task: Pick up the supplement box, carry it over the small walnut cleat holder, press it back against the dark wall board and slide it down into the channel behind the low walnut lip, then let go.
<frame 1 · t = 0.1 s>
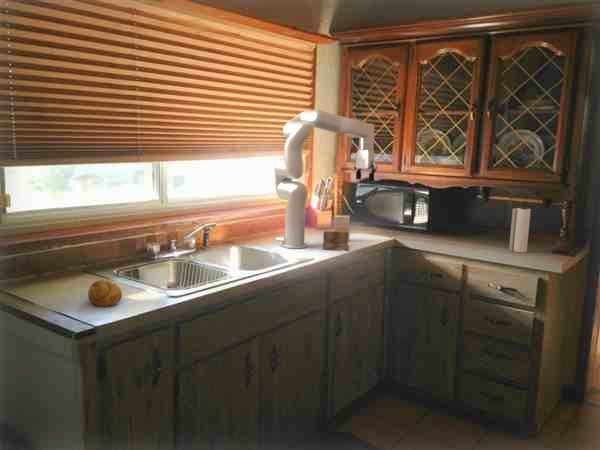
hand: (364, 180, 285), 31 cm above the counter, tool pointing down, fingers open, 9 cm apart
cleat holder: (335, 247, 263), on the counter
bread roll: (104, 303, 172), on the counter
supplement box: (341, 240, 281), on the counter
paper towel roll: (518, 251, 265), on the counter
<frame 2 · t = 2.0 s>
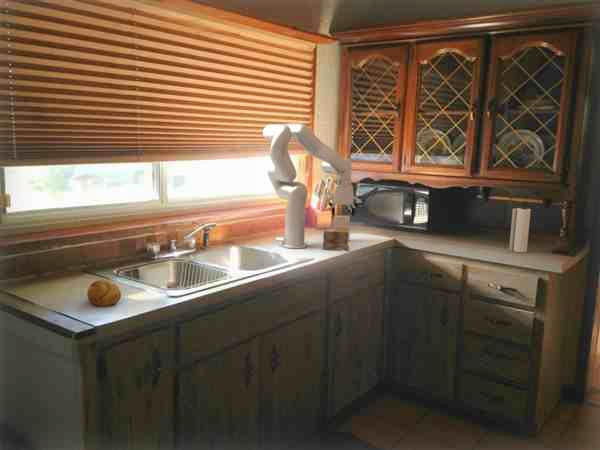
hand: (343, 215, 279), 13 cm above the counter, tool pointing down, fingers open, 9 cm apart
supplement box: (341, 240, 281), on the counter, touching gripper
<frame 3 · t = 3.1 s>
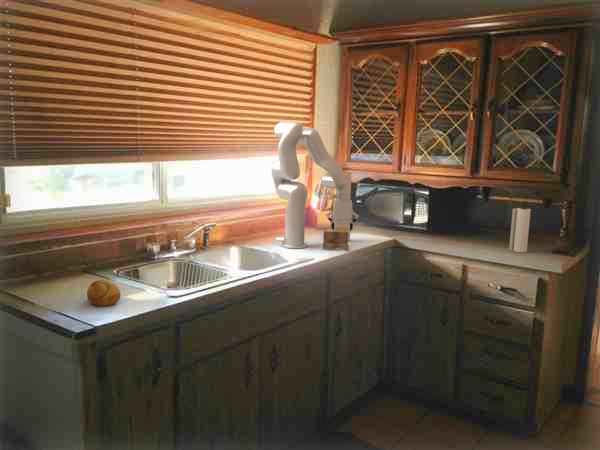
hand: (341, 230, 280), 5 cm above the counter, tool pointing down, fingers closed on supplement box, 8 cm apart
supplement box: (341, 240, 281), on the counter, touching gripper
everything else where it was.
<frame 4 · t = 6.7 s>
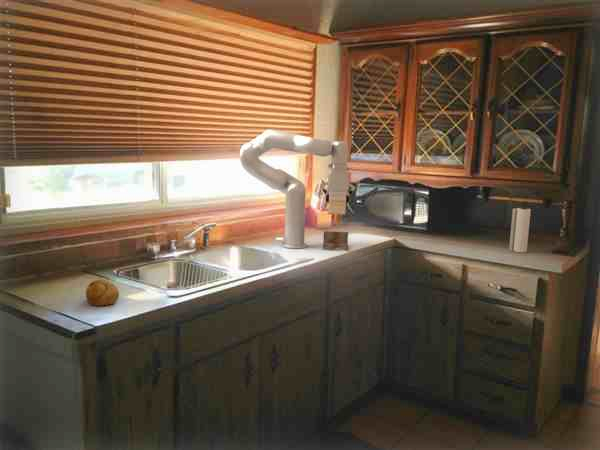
hand: (337, 203, 260), 22 cm above the counter, tool pointing down, fingers closed on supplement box, 8 cm apart
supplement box: (336, 214, 261), point 16 cm above the counter, touching gripper
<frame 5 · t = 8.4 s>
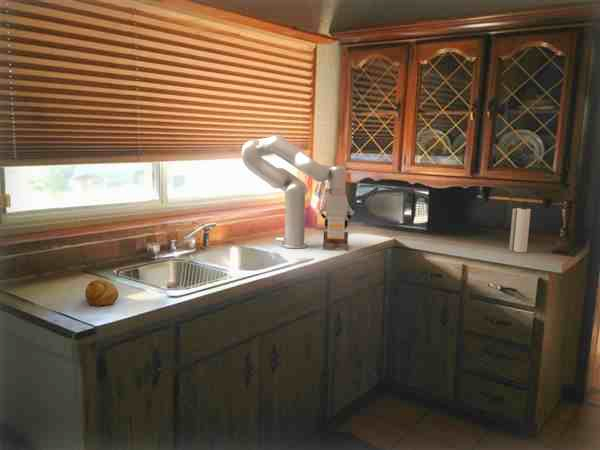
hand: (335, 227, 260), 10 cm above the counter, tool pointing down, fingers closed on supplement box, 8 cm apart
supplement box: (335, 239, 261), point 5 cm above the counter, touching gripper
when the fingers open (7 cm above the counter, at t = 10.1 s): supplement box stays where it is, resting on cleat holder.
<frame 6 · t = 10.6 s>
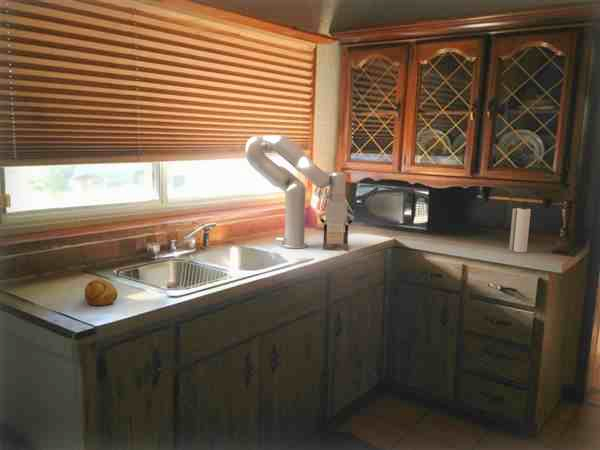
hand: (335, 232, 262), 7 cm above the counter, tool pointing down, fingers open, 9 cm apart
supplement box: (334, 245, 263), point 1 cm above the counter, touching cleat holder
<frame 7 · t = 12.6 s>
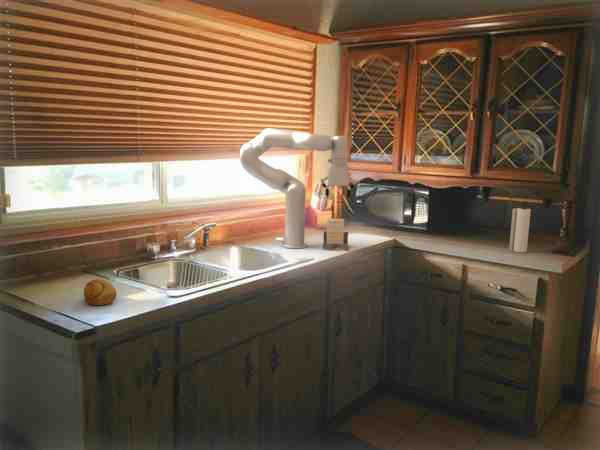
hand: (337, 197, 260), 24 cm above the counter, tool pointing down, fingers open, 9 cm apart
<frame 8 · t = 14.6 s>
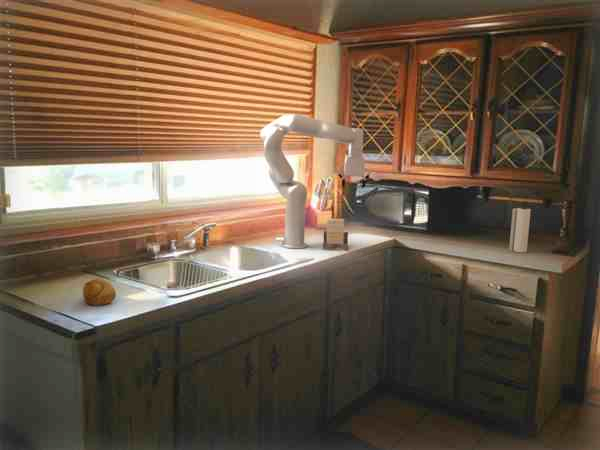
hand: (353, 187, 271), 28 cm above the counter, tool pointing down, fingers open, 9 cm apart
at the end: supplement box inside the target area on the cleat holder (0.5 cm from its centre), point 0.8 cm above the cleat holder's base; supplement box tilted 0°; the gripper is holding nothing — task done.
